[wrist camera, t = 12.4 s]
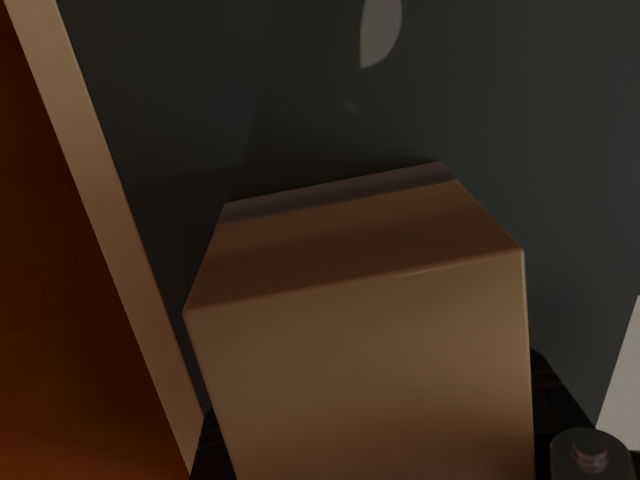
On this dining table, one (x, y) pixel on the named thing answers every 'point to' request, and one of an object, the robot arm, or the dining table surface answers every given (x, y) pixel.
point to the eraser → (367, 333)
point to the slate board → (357, 149)
